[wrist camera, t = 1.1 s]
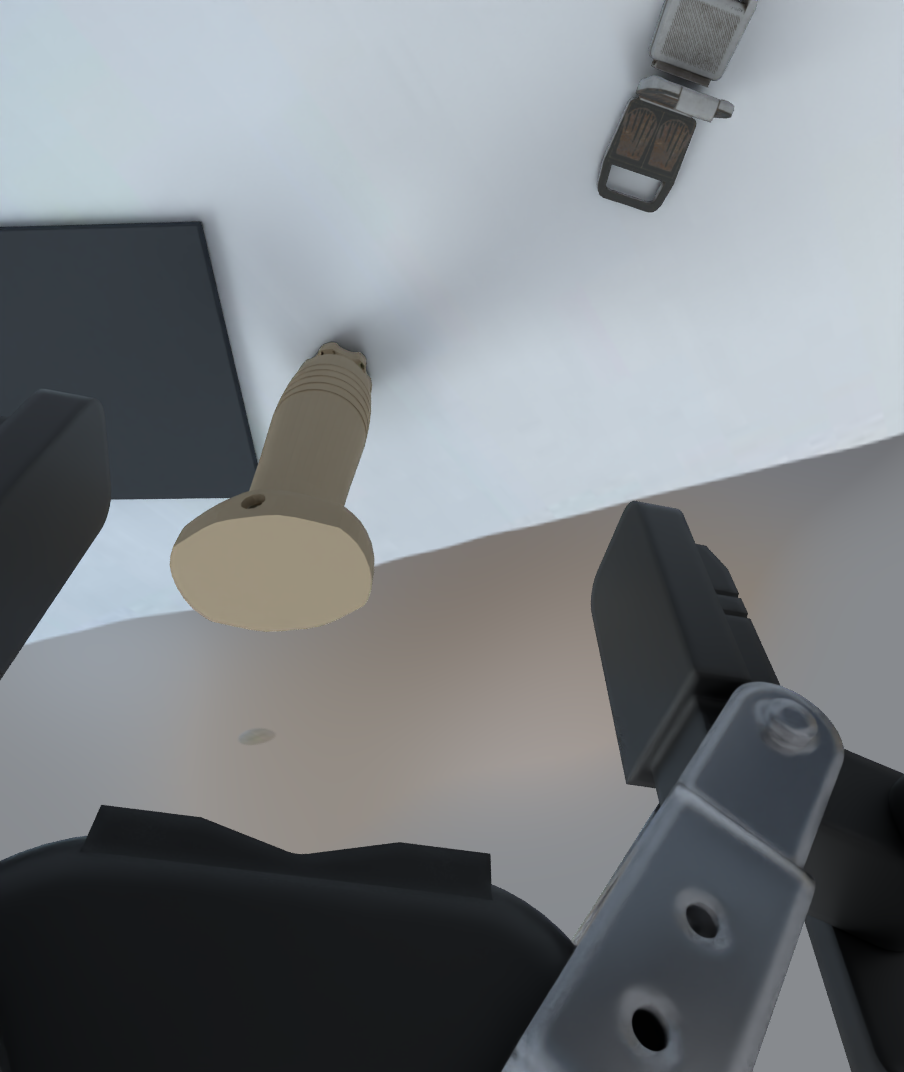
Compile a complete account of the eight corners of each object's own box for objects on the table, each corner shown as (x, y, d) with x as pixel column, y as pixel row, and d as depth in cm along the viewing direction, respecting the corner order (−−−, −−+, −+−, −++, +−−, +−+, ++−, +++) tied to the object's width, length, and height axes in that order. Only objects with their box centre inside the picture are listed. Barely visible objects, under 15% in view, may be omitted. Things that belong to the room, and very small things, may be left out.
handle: (413, 406, 36) (385, 620, 24) (289, 423, 37) (204, 638, 25) (393, 313, 33) (350, 504, 21) (259, 333, 34) (146, 529, 22)
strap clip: (688, -68, 25) (721, -74, 21) (767, -36, 25) (812, -37, 22) (589, 190, 30) (604, 218, 26) (657, 213, 30) (679, 243, 27)
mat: (201, 221, 31) (197, 225, 30) (264, 491, 39) (262, 498, 39) (-251, 233, 32) (-262, 237, 31) (-92, 496, 40) (-98, 502, 40)
